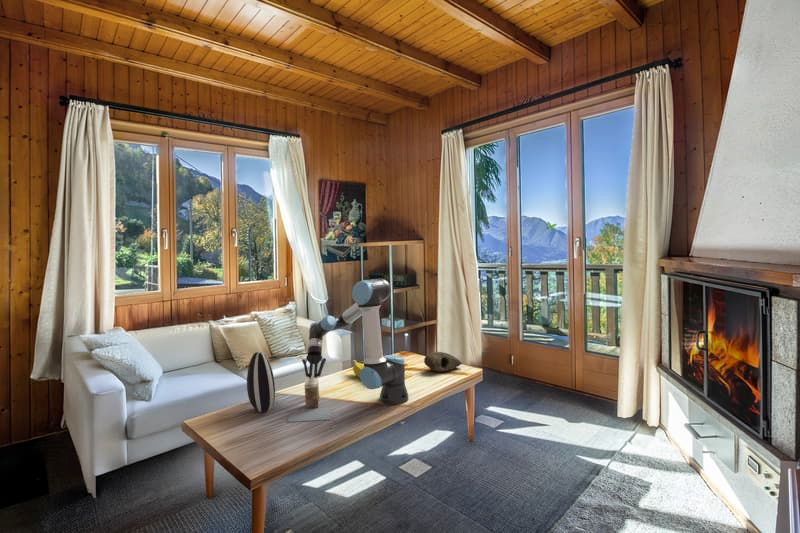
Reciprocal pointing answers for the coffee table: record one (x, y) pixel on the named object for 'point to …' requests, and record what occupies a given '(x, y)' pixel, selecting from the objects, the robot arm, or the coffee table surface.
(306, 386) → the block
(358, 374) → the fruit
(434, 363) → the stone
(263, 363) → the sunflower seed
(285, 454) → the coffee table surface
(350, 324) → the robot arm
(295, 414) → the mat
